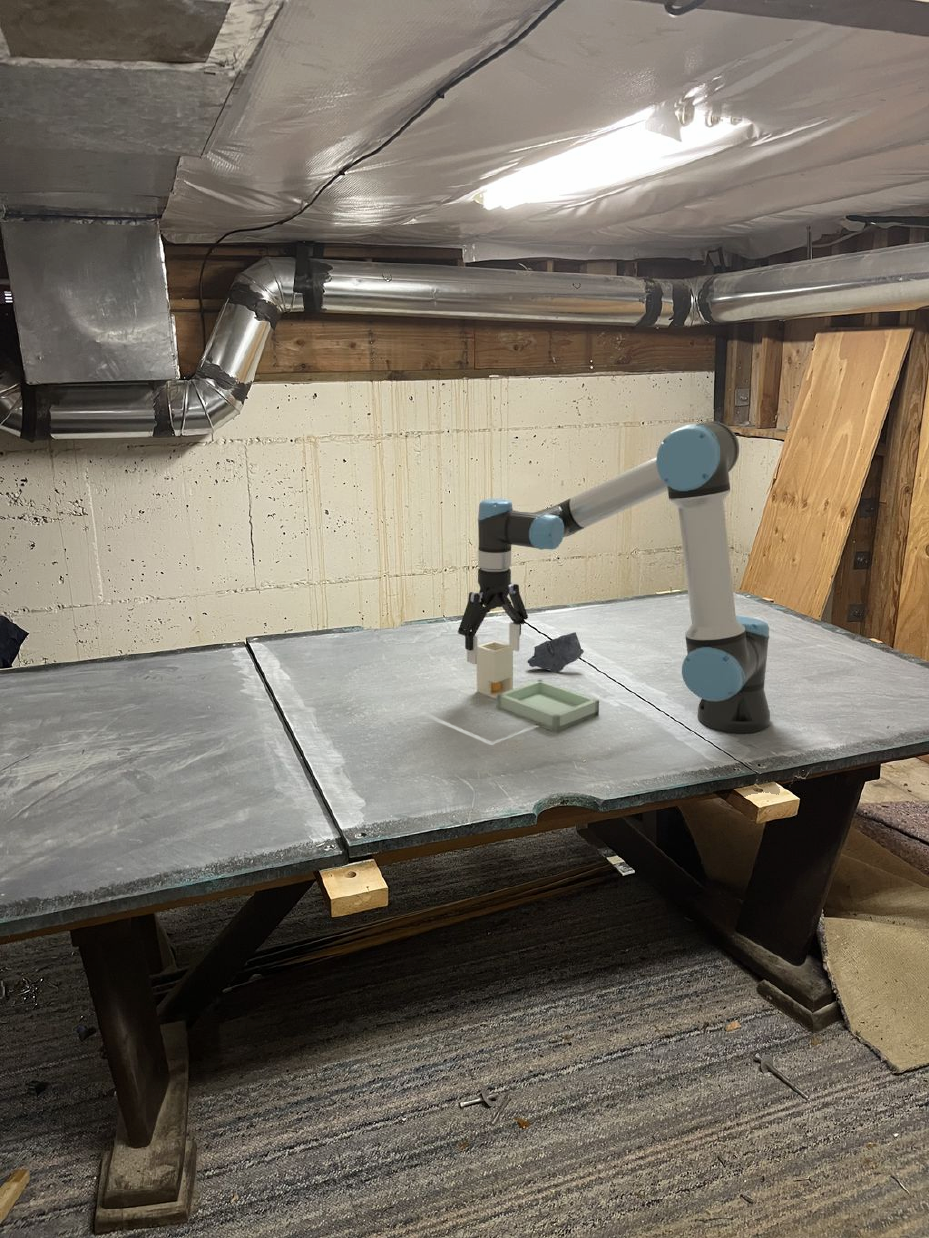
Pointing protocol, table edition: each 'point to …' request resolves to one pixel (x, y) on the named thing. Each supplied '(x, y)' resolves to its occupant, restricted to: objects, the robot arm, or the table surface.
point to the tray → (549, 705)
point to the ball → (495, 686)
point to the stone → (556, 653)
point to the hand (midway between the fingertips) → (493, 656)
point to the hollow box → (494, 667)
